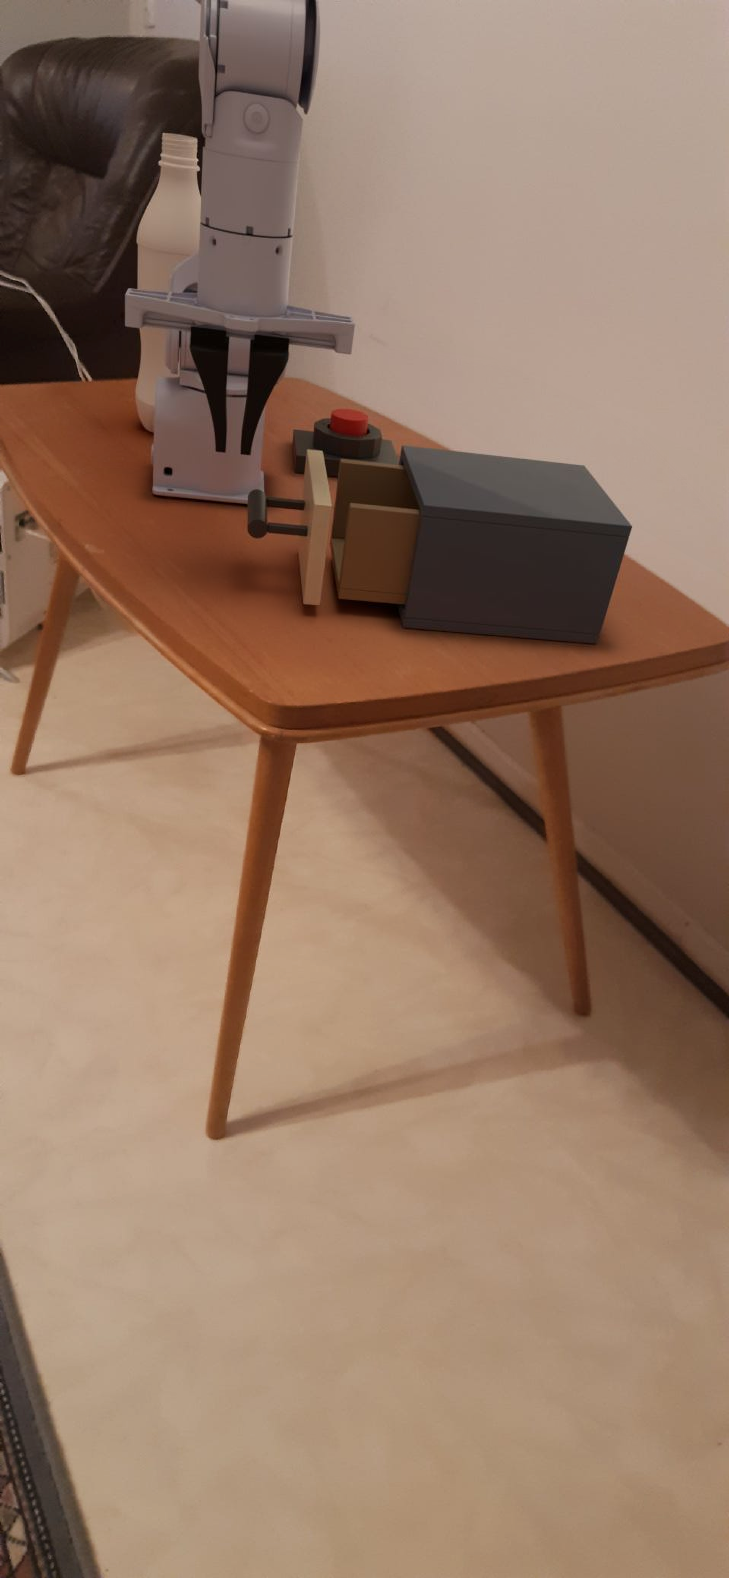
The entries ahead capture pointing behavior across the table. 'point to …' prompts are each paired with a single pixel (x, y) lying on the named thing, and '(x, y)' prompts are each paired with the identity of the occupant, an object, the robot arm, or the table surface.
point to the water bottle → (165, 253)
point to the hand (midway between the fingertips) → (233, 449)
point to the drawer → (349, 529)
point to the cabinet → (510, 547)
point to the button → (349, 422)
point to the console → (341, 447)
